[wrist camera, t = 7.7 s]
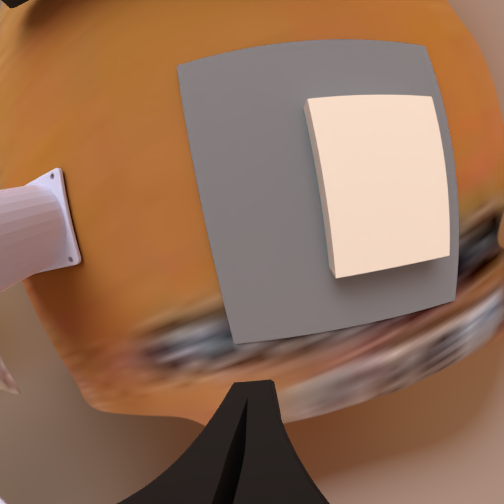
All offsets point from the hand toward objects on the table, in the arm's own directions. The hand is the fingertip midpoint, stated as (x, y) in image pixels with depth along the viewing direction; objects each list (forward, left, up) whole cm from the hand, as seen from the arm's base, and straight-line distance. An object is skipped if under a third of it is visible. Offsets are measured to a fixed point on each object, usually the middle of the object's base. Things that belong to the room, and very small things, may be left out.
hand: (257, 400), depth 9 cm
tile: (+4, +6, -9) cm, 11 cm away
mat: (+6, +6, -10) cm, 13 cm away
